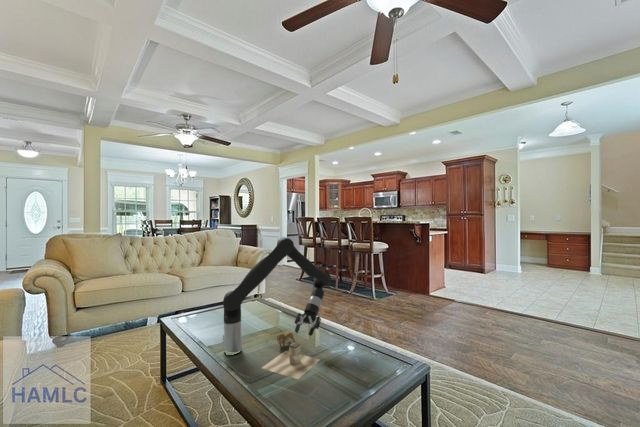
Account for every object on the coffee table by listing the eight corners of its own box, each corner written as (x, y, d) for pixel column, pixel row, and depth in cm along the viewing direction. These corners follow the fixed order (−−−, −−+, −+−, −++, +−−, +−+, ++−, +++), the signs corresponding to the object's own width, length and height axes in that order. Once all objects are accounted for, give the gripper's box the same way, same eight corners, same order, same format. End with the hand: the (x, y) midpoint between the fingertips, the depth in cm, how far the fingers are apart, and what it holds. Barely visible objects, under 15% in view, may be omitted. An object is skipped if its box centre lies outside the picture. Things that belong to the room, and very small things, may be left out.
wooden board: (261, 369, 141) (261, 368, 141) (285, 351, 158) (285, 350, 158) (298, 380, 130) (298, 379, 130) (320, 360, 148) (320, 359, 148)
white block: (289, 363, 145) (289, 345, 145) (294, 359, 148) (293, 342, 148) (296, 365, 143) (295, 346, 143) (300, 361, 146) (300, 343, 146)
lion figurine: (282, 351, 158) (281, 335, 158) (274, 349, 161) (273, 333, 161) (296, 341, 171) (296, 326, 171) (289, 339, 174) (289, 324, 174)
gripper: (300, 301, 164) (288, 328, 154) (321, 304, 157) (311, 333, 147) (305, 307, 169) (294, 334, 158) (326, 310, 162) (317, 339, 151)
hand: (303, 333), depth 153 cm, fingers open, 8 cm apart
